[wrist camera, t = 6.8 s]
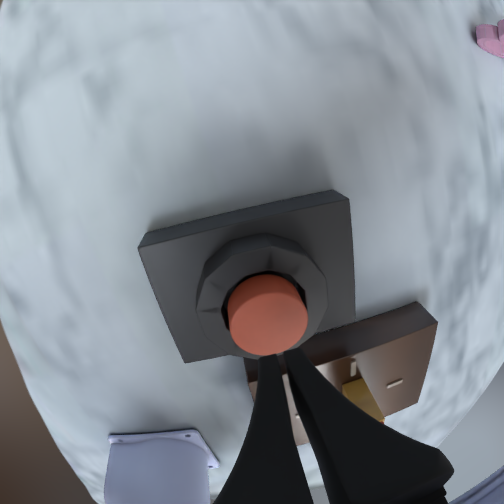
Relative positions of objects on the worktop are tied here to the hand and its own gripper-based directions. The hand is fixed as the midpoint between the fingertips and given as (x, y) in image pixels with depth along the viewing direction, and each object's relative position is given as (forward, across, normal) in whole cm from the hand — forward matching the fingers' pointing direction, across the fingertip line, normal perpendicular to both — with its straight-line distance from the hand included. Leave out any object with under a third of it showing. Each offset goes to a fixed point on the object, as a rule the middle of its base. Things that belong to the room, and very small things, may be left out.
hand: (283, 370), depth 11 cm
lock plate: (+8, -5, +11) cm, 15 cm away
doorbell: (+8, 0, 0) cm, 8 cm away
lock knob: (+5, -5, +11) cm, 13 cm away
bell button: (+5, 0, 0) cm, 5 cm away
